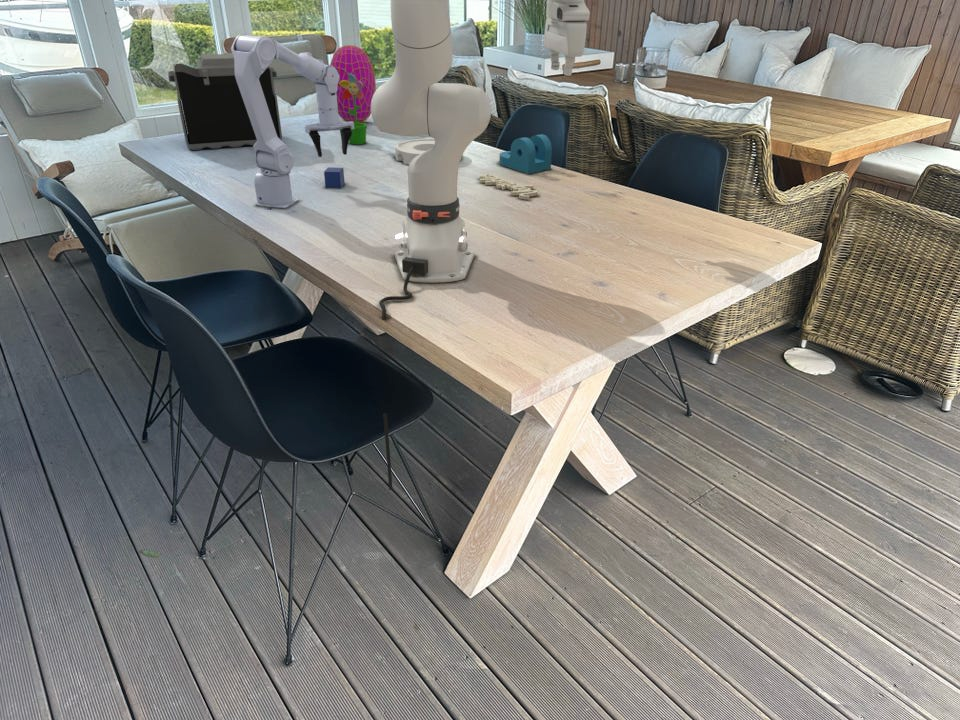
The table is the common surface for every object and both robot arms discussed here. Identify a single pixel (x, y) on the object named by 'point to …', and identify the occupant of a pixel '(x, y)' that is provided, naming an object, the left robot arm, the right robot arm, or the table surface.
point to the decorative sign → (509, 186)
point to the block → (334, 177)
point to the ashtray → (412, 149)
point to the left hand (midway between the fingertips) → (332, 155)
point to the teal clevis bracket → (528, 154)
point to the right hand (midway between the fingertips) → (561, 72)
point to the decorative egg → (361, 68)
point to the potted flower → (354, 89)
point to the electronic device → (218, 103)
